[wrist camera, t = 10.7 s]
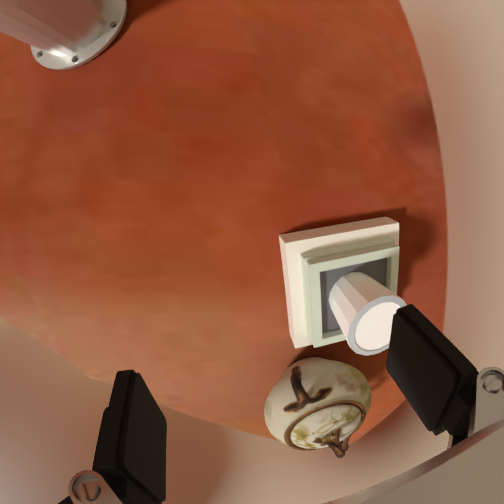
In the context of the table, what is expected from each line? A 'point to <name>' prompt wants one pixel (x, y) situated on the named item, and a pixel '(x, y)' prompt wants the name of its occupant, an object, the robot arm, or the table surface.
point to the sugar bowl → (318, 405)
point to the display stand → (333, 272)
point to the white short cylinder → (364, 312)
